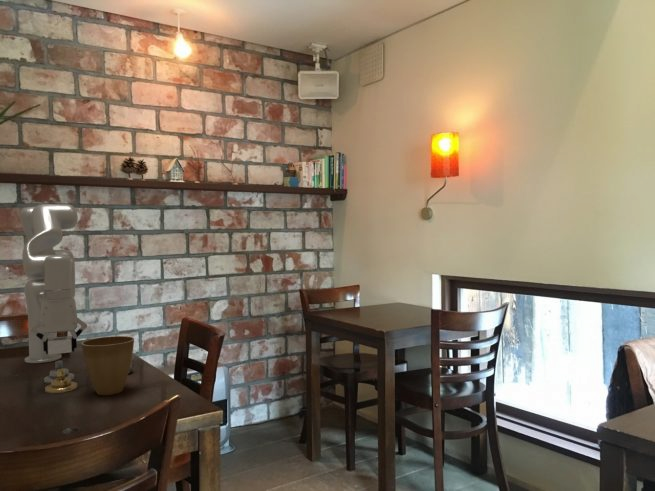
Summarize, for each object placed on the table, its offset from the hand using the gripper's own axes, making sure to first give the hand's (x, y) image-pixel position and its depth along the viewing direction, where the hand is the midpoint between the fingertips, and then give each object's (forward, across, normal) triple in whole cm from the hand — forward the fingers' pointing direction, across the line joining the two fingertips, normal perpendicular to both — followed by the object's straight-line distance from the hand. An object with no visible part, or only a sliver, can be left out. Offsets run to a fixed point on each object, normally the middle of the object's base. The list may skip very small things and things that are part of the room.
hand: (60, 351), depth 166 cm
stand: (+12, -1, +13) cm, 17 cm away
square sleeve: (0, 0, 0) cm, 0 cm away
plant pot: (+12, +14, -10) cm, 21 cm away
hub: (+12, 0, +1) cm, 12 cm away
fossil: (+12, +16, +11) cm, 23 cm away
